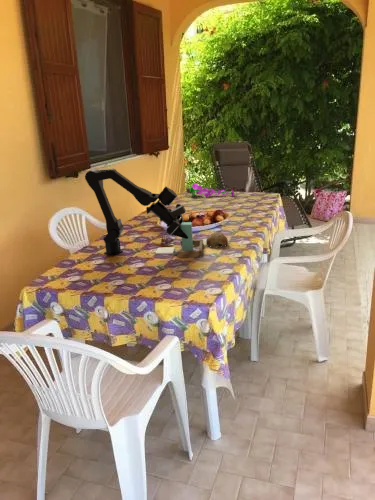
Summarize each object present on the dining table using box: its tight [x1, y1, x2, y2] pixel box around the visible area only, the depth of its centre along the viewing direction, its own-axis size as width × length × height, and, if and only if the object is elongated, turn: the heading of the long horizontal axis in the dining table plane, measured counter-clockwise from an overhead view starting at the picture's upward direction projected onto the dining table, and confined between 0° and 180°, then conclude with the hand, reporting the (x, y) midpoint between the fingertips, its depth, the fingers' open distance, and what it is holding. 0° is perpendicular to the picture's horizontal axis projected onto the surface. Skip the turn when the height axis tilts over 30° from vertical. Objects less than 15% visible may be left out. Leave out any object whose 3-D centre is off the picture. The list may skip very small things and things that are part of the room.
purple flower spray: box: [185, 181, 235, 198], centre depth 314 cm, size 12×16×35 cm
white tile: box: [155, 246, 176, 255], centre depth 200 cm, size 8×8×1 cm
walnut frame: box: [176, 239, 204, 258], centre depth 198 cm, size 11×17×2 cm, turn 176°
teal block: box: [181, 221, 194, 251], centre depth 197 cm, size 4×4×13 cm
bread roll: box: [206, 231, 229, 248], centre depth 204 cm, size 10×10×8 cm
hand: (188, 235), depth 196 cm, fingers open, 9 cm apart
